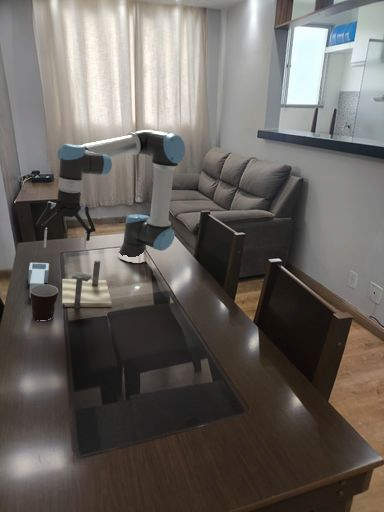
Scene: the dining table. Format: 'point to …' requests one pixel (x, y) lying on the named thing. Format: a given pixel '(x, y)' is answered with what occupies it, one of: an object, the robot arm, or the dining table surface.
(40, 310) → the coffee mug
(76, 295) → the pintle plate
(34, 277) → the link
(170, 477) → the dining table surface
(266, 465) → the dining table surface
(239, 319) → the dining table surface
